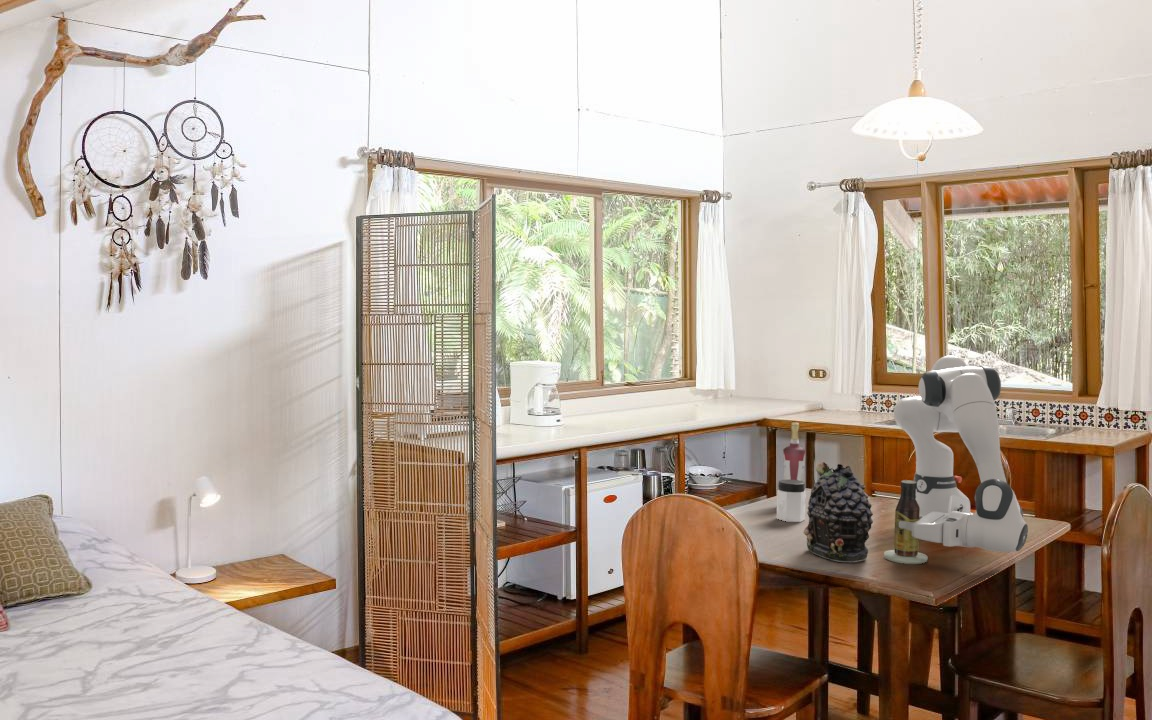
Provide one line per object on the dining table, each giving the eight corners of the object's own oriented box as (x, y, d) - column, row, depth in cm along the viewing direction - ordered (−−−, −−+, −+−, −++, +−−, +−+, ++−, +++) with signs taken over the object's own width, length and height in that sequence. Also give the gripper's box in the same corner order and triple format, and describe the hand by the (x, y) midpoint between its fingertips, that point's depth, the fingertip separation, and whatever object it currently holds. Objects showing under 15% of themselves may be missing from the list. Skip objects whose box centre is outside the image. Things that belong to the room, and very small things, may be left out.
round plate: (903, 551, 263) (903, 547, 263) (936, 560, 254) (936, 557, 254) (875, 556, 258) (875, 552, 258) (908, 566, 248) (908, 562, 248)
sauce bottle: (890, 551, 259) (892, 478, 258) (913, 551, 259) (915, 478, 258) (898, 557, 253) (900, 483, 251) (922, 557, 253) (924, 483, 251)
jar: (771, 517, 304) (772, 480, 303) (791, 515, 308) (792, 478, 307) (790, 523, 296) (791, 485, 295) (810, 521, 300) (811, 483, 299)
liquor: (804, 508, 319) (806, 424, 318) (781, 506, 321) (784, 423, 319) (803, 503, 327) (805, 422, 325) (781, 502, 328) (783, 421, 327)
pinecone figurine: (790, 549, 265) (793, 459, 263) (834, 544, 271) (836, 456, 269) (840, 568, 246) (843, 471, 244) (886, 562, 252) (889, 468, 250)
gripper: (967, 509, 256) (914, 503, 264) (948, 523, 240) (892, 516, 247) (966, 533, 257) (913, 526, 265) (947, 548, 240) (892, 540, 248)
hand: (903, 521), depth 256 cm, fingers open, 6 cm apart
